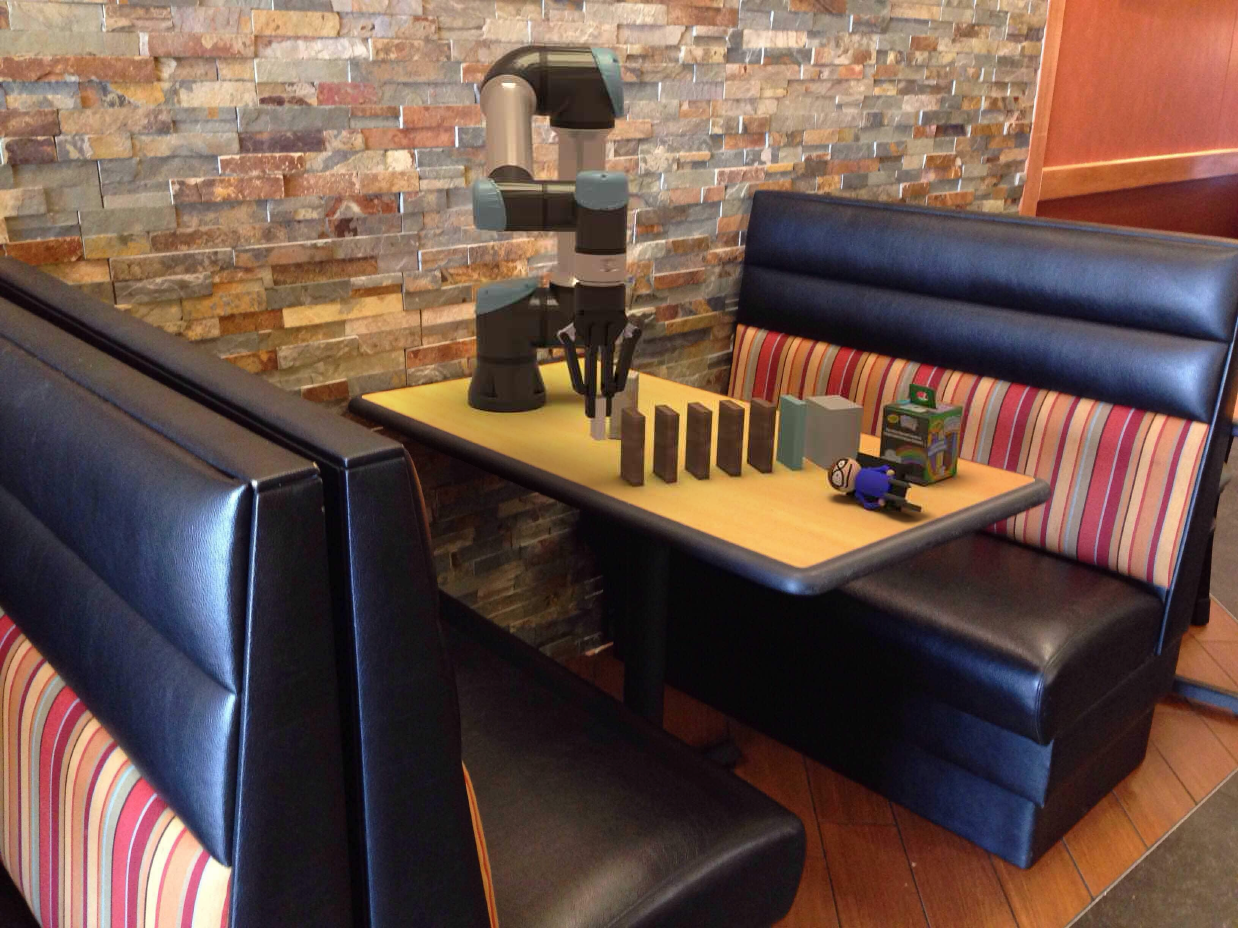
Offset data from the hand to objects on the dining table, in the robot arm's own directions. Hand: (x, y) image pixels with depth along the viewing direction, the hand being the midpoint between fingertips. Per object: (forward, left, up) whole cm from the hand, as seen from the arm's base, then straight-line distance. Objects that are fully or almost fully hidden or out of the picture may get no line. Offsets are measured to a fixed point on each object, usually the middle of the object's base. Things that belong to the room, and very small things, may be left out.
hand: (597, 437), depth 166 cm
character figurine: (+21, +36, -8) cm, 42 cm away
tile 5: (0, +28, -7) cm, 29 cm away
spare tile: (0, +33, -7) cm, 34 cm away
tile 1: (0, +6, -7) cm, 9 cm away
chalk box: (+10, +51, -8) cm, 52 cm away
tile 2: (0, +11, -7) cm, 13 cm away
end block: (0, +41, -7) cm, 41 cm away
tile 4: (0, +22, -7) cm, 23 cm away
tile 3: (0, +17, -7) cm, 18 cm away
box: (-23, +13, -8) cm, 27 cm away
